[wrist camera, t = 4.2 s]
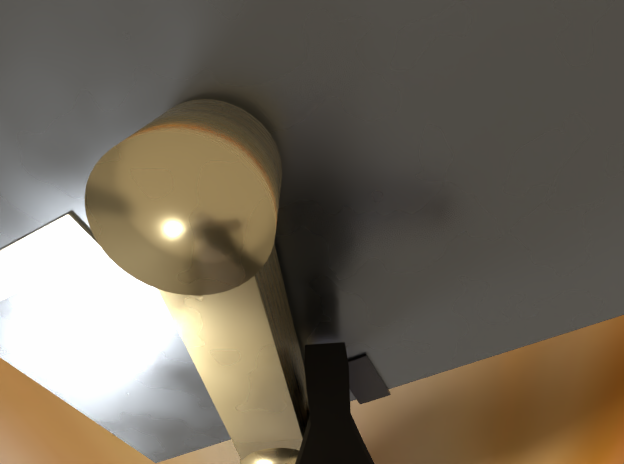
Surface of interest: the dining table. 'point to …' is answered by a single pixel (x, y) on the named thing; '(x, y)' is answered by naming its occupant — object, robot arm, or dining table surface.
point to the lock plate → (319, 184)
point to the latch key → (211, 261)
